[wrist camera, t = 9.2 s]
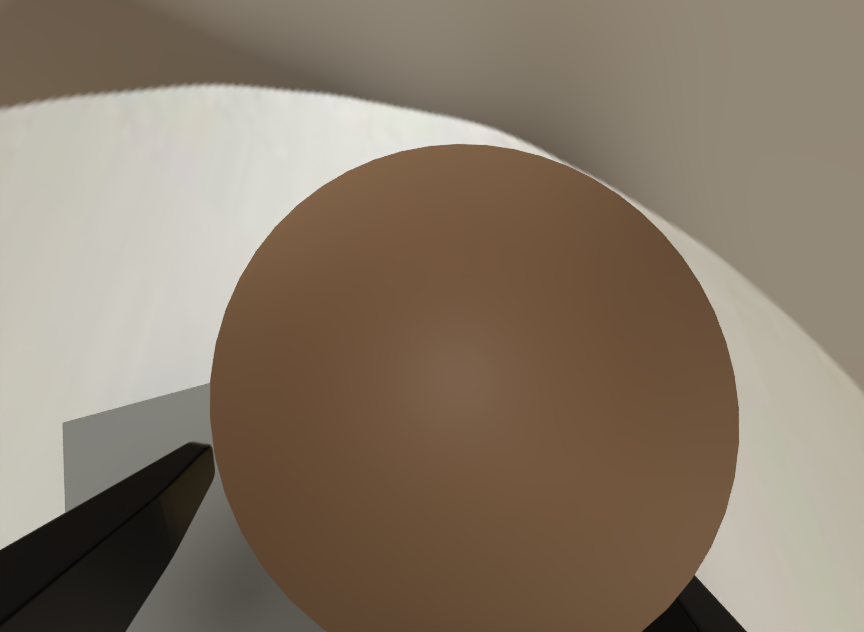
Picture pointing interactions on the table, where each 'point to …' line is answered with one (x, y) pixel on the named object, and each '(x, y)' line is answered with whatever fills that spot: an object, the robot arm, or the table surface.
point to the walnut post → (473, 401)
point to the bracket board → (207, 534)
